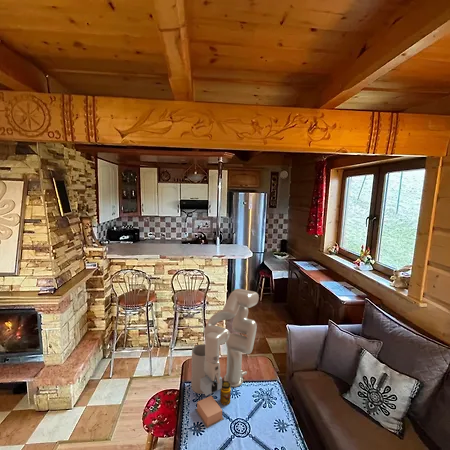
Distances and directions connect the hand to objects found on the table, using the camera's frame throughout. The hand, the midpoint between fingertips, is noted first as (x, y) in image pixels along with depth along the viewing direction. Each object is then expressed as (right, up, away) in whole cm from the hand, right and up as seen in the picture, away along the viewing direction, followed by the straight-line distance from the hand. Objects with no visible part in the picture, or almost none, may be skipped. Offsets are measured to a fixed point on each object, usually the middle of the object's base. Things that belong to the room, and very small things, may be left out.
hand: (211, 386), depth 144 cm
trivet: (-1, -17, +3) cm, 17 cm away
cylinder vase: (-7, -14, +23) cm, 28 cm away
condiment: (+7, -16, +12) cm, 22 cm away
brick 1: (0, -1, 0) cm, 1 cm away
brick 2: (-1, -16, +2) cm, 17 cm away
